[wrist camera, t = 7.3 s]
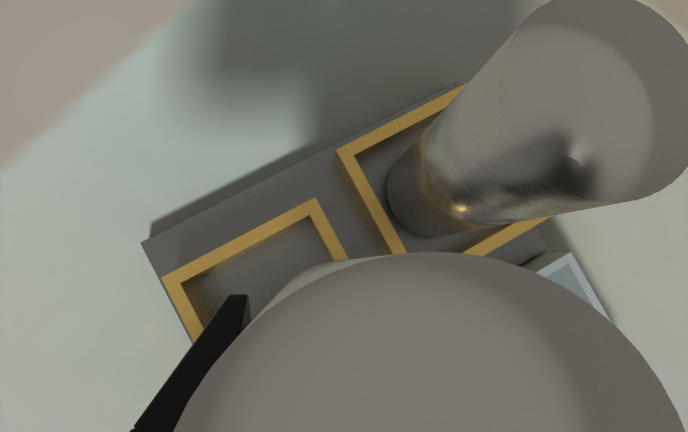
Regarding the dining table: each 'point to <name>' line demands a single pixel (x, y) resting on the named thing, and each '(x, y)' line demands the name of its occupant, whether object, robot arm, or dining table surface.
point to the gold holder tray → (313, 223)
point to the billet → (429, 356)
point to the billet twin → (553, 123)
